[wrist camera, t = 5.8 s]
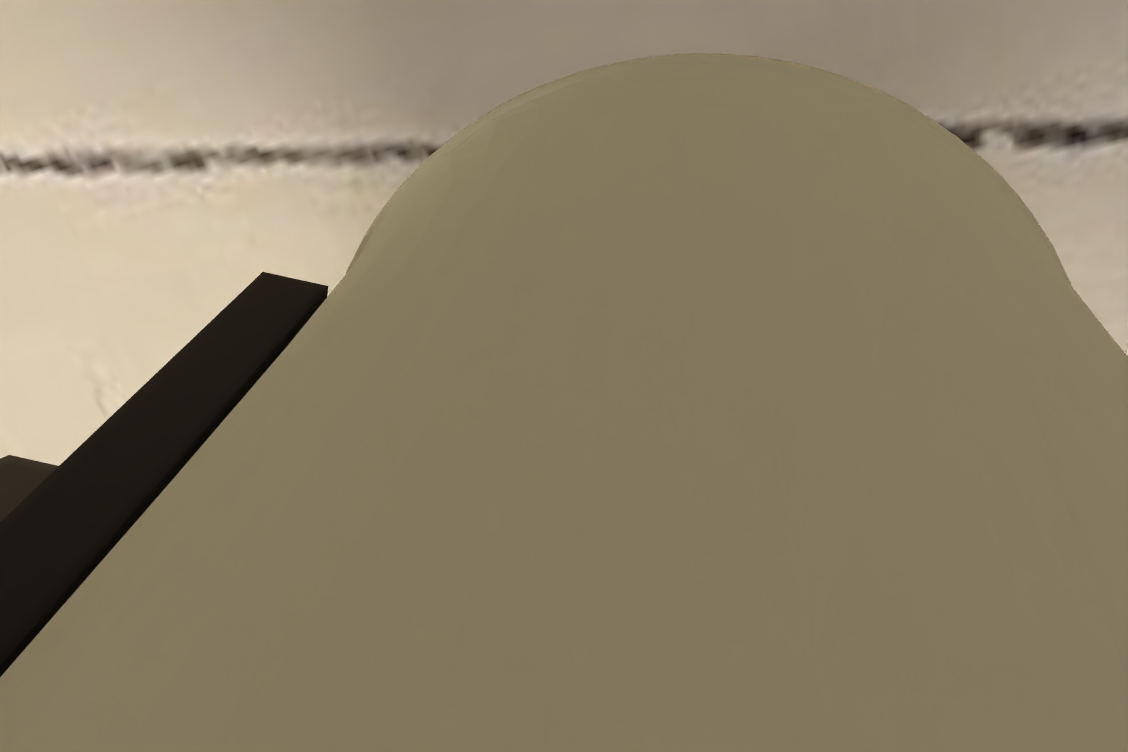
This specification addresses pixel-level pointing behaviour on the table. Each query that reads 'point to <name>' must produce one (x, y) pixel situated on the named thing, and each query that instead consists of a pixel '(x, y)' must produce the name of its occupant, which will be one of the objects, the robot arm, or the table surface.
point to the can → (643, 461)
